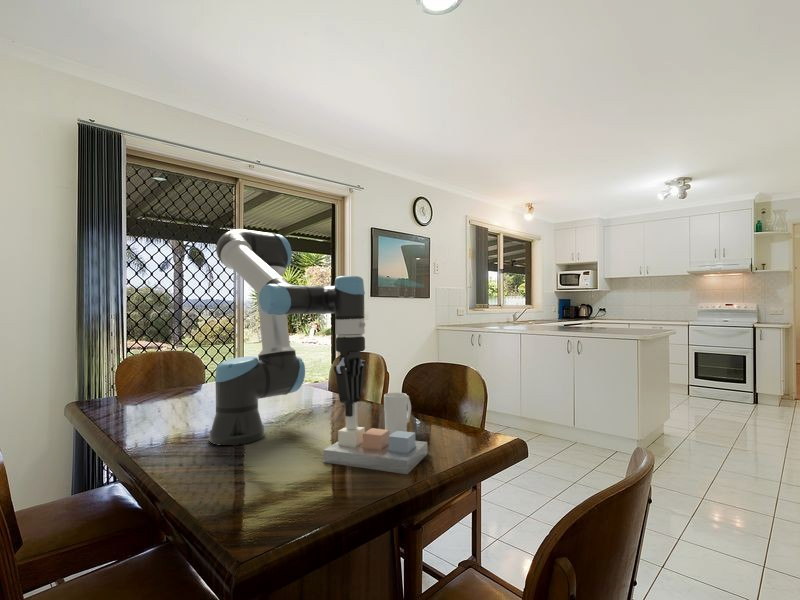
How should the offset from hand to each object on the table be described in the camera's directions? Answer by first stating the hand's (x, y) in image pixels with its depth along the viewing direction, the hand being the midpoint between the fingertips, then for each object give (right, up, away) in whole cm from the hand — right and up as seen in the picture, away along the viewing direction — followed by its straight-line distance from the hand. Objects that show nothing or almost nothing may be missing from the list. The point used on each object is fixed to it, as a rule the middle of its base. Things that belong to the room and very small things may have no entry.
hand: (351, 428), depth 104 cm
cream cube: (0, -5, 0) cm, 5 cm away
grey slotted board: (+7, -7, -3) cm, 10 cm away
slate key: (+13, -5, -6) cm, 15 cm away
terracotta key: (+6, -5, -3) cm, 9 cm away
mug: (+12, -7, +16) cm, 22 cm away
